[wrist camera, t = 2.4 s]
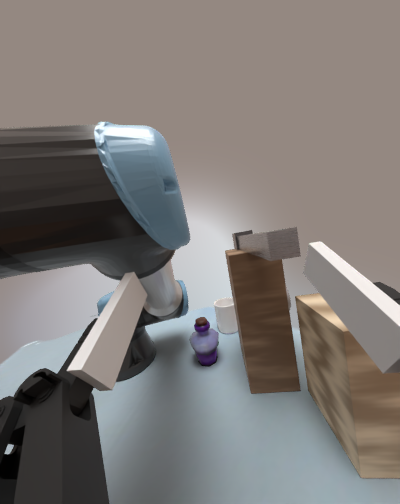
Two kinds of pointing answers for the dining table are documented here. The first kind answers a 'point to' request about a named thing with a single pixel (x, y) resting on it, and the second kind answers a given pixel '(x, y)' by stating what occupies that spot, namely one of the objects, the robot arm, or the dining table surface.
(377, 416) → the oak block
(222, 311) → the cup
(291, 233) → the grey long bar
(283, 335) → the post
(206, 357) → the potion bottle
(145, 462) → the dining table surface
